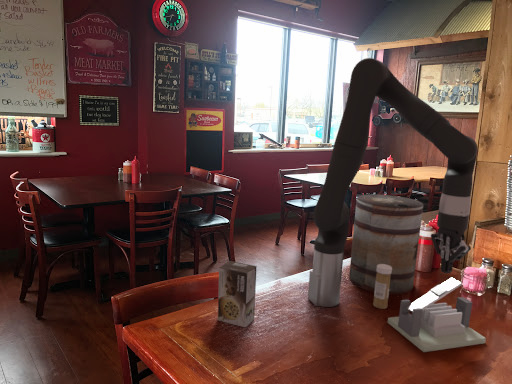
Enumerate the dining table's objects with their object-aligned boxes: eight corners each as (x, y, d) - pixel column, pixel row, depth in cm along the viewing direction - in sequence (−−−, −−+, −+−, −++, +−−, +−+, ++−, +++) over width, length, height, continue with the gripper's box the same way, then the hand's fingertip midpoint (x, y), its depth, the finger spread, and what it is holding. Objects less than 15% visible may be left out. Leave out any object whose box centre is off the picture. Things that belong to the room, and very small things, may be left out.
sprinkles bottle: (390, 307, 136) (395, 267, 133) (380, 310, 134) (385, 269, 131) (379, 301, 140) (383, 262, 137) (369, 304, 137) (373, 264, 135)
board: (423, 352, 111) (427, 319, 109) (386, 322, 126) (390, 292, 124) (485, 343, 117) (490, 311, 115) (443, 315, 132) (447, 287, 130)
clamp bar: (415, 315, 116) (414, 311, 116) (407, 309, 119) (405, 305, 119) (461, 284, 119) (460, 281, 118) (452, 279, 122) (451, 276, 122)
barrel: (424, 283, 157) (434, 203, 151) (393, 300, 141) (404, 211, 136) (369, 265, 173) (377, 192, 167) (336, 279, 157) (344, 198, 151)
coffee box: (255, 318, 124) (257, 265, 121) (245, 328, 119) (247, 273, 116) (227, 311, 128) (229, 259, 125) (216, 320, 122) (218, 266, 119)
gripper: (425, 206, 120) (418, 264, 124) (460, 217, 108) (452, 282, 111) (447, 205, 123) (440, 263, 126) (484, 216, 110) (475, 280, 113)
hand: (445, 272), depth 119 cm, fingers closed
